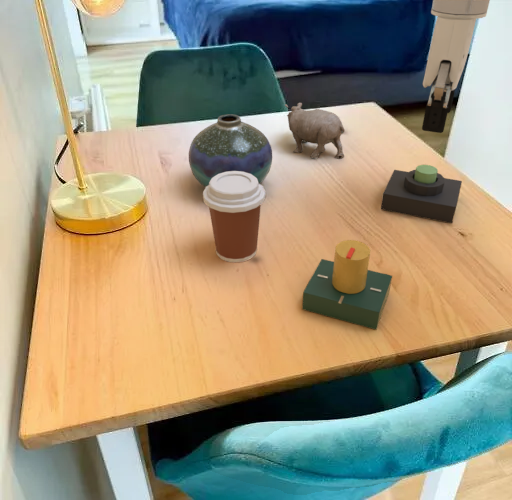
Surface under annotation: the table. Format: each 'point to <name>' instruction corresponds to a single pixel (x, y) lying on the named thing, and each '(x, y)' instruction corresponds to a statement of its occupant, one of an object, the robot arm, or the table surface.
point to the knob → (350, 266)
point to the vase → (229, 150)
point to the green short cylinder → (425, 174)
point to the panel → (347, 297)
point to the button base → (421, 196)
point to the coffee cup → (235, 214)
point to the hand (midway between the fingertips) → (436, 120)
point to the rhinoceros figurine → (315, 129)
